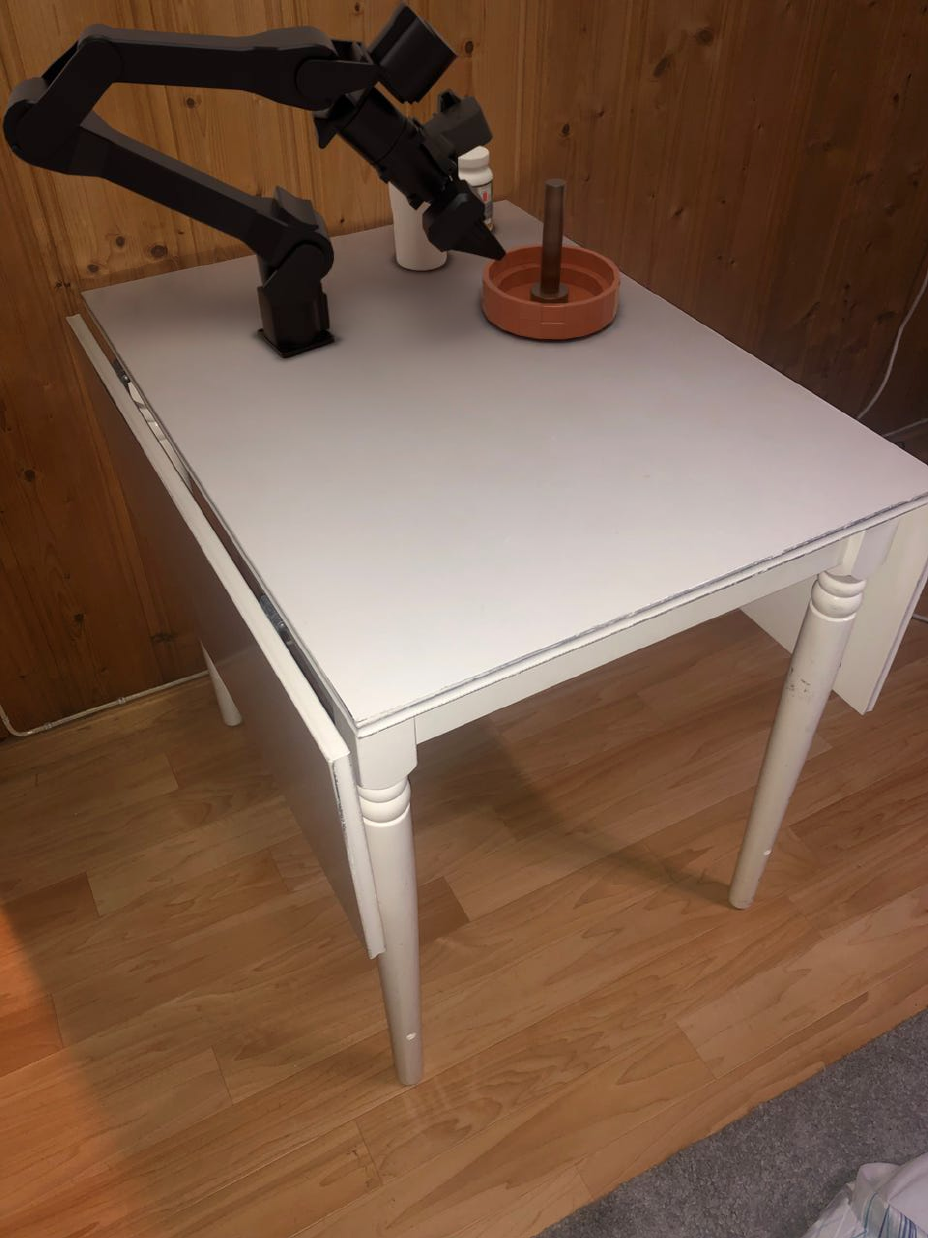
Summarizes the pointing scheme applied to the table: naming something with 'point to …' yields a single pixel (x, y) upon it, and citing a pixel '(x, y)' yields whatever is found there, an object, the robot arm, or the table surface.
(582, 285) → the bowl
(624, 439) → the table surface
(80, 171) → the robot arm
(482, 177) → the pill bottle
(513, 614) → the table surface
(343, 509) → the table surface
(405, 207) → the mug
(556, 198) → the stick
